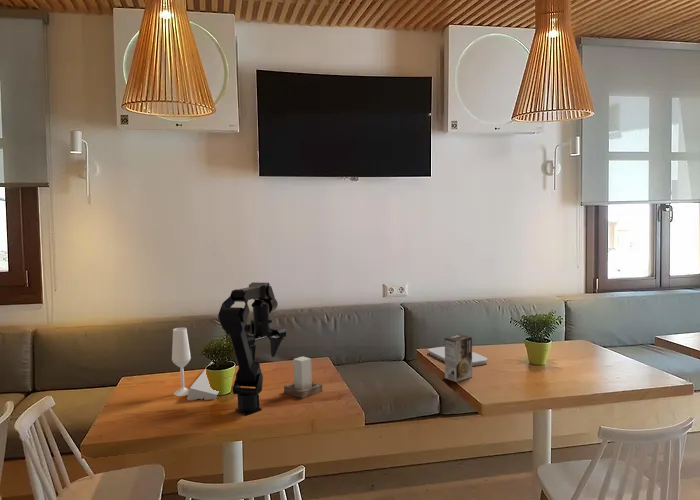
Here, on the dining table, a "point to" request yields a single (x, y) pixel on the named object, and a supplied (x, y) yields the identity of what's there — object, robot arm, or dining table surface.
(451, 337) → the coffee box
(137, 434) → the dining table surface
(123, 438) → the dining table surface
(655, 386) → the dining table surface
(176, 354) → the champagne flute
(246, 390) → the robot arm
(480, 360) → the tablet
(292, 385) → the rectangular frame
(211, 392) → the decorative molding
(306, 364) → the clay block
